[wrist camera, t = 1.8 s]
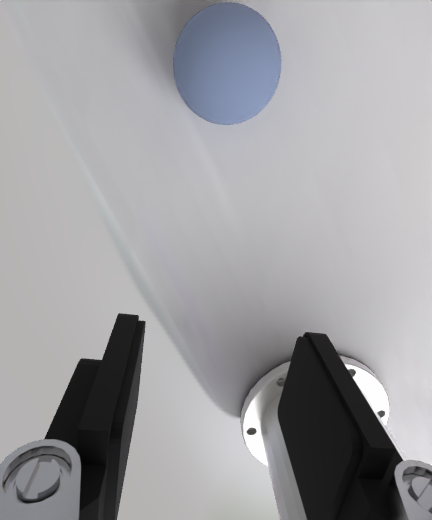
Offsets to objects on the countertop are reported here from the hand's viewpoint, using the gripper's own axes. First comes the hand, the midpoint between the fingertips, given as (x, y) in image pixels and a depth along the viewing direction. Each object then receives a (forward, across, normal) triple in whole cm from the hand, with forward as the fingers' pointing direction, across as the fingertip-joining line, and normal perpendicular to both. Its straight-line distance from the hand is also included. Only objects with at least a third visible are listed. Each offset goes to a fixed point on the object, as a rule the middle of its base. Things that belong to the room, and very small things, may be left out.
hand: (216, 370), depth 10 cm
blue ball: (+13, 0, -9) cm, 16 cm away
